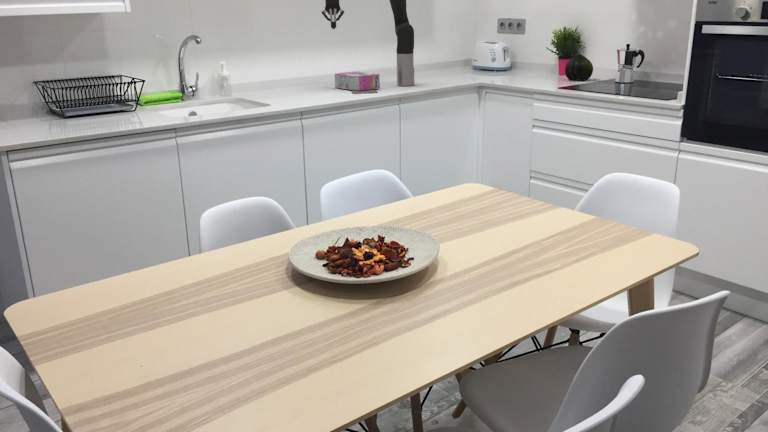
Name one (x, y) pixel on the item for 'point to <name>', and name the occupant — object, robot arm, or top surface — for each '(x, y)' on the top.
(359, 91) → the mat
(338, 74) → the gum box
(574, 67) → the squash
